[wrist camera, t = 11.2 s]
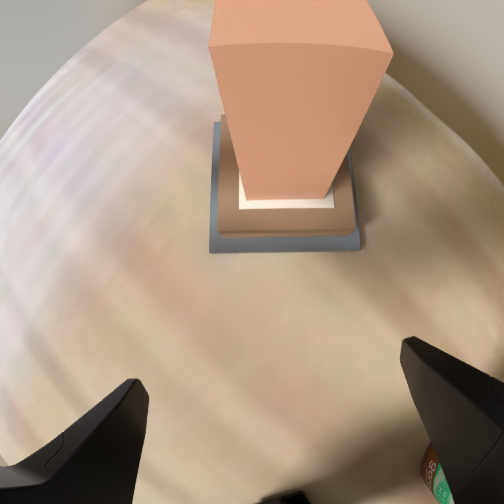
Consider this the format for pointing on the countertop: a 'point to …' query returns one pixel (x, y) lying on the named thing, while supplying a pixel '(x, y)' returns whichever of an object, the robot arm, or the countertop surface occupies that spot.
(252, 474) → the countertop surface
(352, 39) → the terracotta block
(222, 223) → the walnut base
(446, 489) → the food container
